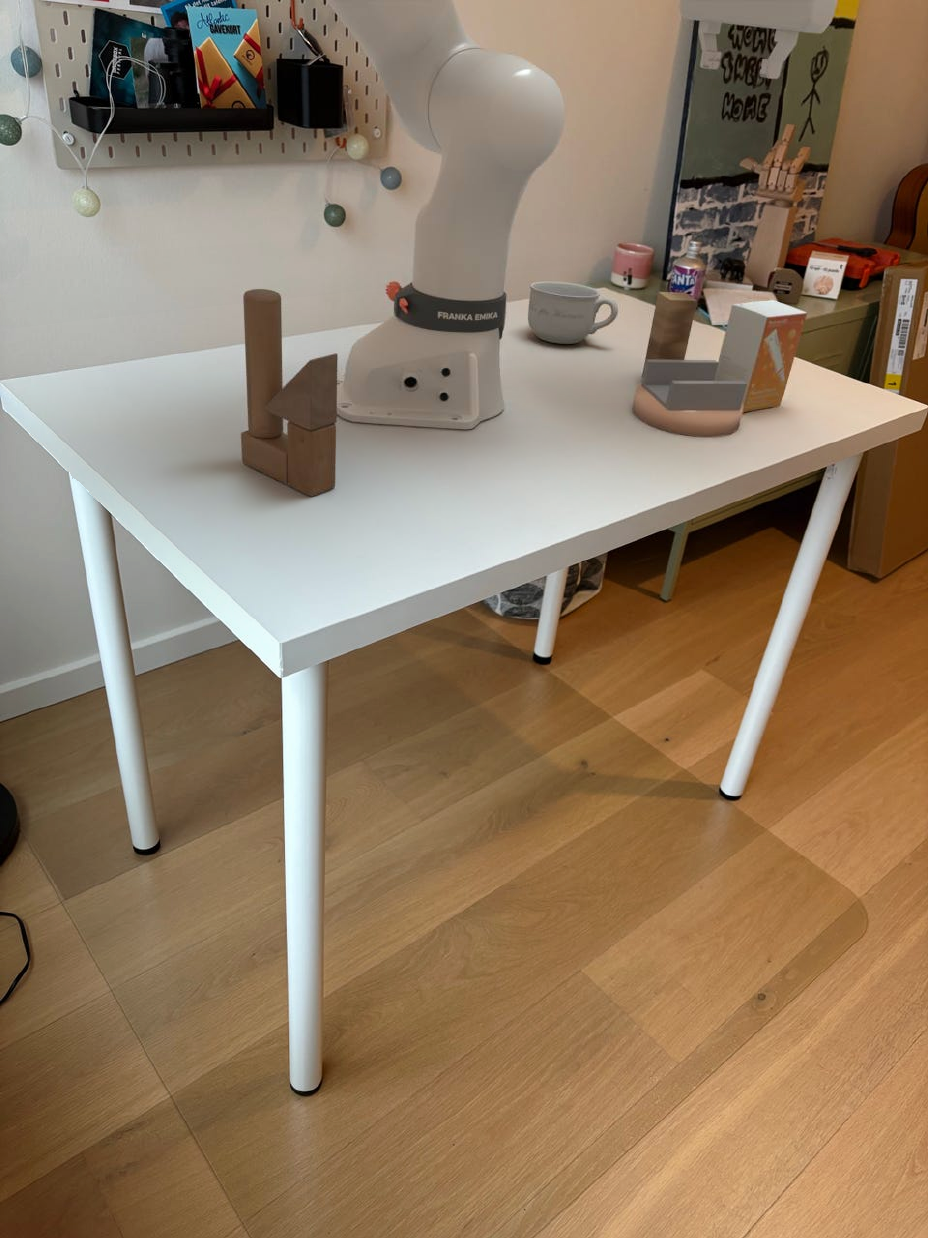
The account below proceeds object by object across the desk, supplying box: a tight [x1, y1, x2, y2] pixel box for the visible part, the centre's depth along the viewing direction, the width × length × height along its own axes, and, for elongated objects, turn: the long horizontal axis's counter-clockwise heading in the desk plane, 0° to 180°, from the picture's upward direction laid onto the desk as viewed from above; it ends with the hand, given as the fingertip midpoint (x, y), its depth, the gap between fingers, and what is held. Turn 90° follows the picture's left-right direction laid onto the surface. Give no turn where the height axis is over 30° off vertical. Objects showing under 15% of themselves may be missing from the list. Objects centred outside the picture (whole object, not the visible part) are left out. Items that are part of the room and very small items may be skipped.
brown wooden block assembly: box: [240, 288, 339, 497], centre depth 95 cm, size 4×11×18 cm, turn 51°
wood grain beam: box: [641, 291, 698, 377], centre depth 133 cm, size 4×4×12 cm
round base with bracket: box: [632, 359, 747, 438], centre depth 124 cm, size 14×14×6 cm
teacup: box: [527, 280, 619, 345], centre depth 147 cm, size 14×11×8 cm
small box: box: [714, 299, 808, 413], centre depth 129 cm, size 8×6×13 cm
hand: (737, 73), depth 109 cm, fingers open, 8 cm apart
